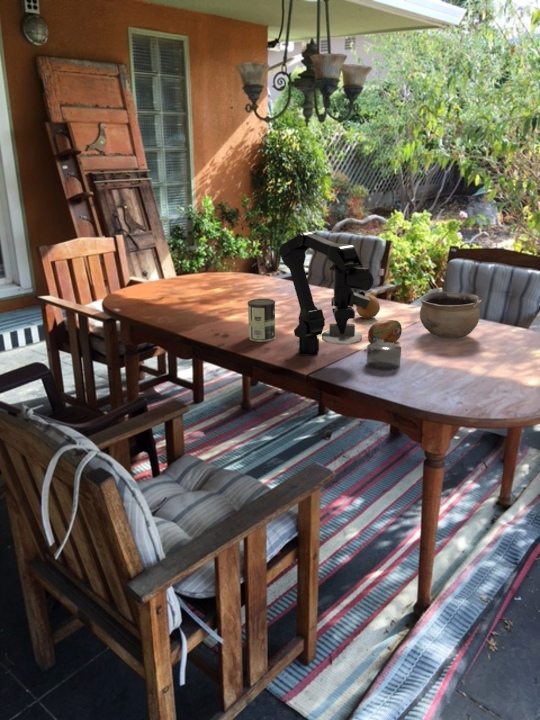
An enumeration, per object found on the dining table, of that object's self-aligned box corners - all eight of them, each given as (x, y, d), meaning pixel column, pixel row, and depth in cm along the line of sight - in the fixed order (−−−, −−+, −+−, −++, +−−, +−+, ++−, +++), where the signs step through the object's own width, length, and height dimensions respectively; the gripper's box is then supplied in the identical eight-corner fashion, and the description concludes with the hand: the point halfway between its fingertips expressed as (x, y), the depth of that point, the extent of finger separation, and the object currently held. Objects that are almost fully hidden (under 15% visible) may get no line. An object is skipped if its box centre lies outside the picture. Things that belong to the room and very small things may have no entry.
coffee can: (273, 333, 234) (272, 297, 230) (277, 341, 225) (277, 304, 220) (246, 334, 233) (245, 299, 228) (250, 342, 223) (249, 305, 219)
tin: (372, 348, 215) (373, 326, 213) (365, 346, 218) (366, 324, 215) (401, 341, 223) (403, 319, 221) (395, 339, 226) (396, 317, 223)
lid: (322, 344, 191) (323, 330, 190) (320, 332, 203) (321, 319, 202) (364, 344, 191) (364, 330, 189) (359, 332, 203) (360, 319, 201)
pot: (368, 370, 195) (369, 352, 193) (362, 354, 210) (363, 337, 208) (402, 370, 194) (404, 352, 192) (394, 354, 209) (395, 337, 207)
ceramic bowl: (476, 347, 215) (480, 306, 210) (413, 342, 222) (416, 302, 217) (478, 330, 234) (482, 293, 229) (421, 326, 242) (424, 289, 237)
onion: (356, 314, 259) (357, 291, 256) (379, 315, 257) (380, 292, 254) (354, 320, 250) (355, 296, 247) (378, 321, 248) (380, 297, 245)
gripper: (372, 292, 182) (370, 341, 187) (365, 279, 200) (363, 324, 205) (335, 292, 182) (334, 341, 188) (331, 279, 200) (330, 324, 205)
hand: (341, 332), depth 196 cm, fingers closed on lid, 2 cm apart
